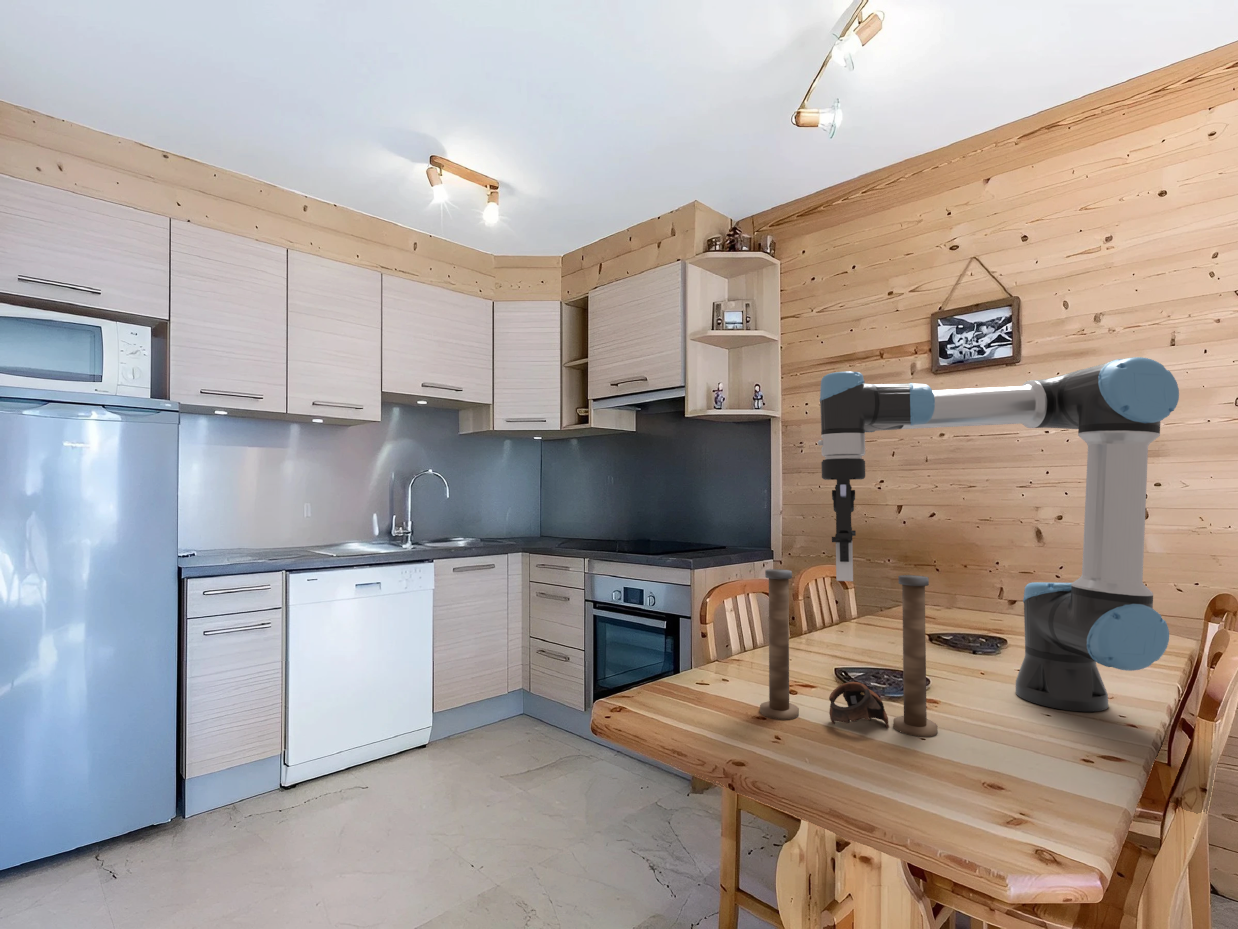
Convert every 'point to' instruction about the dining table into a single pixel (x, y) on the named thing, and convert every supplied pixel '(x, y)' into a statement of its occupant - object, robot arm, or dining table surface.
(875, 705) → the broken pottery shard
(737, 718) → the dining table surface
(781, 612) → the post
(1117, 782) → the dining table surface
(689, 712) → the dining table surface
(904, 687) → the post
